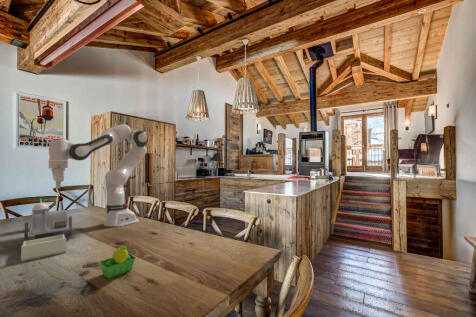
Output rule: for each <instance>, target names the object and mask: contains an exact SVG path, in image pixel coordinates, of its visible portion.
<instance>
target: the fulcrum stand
mask: <svg viewBox="0 0 476 317" xmlns="http://www.w3.org/2000/svg"><path fill="white" fill-rule="evenodd" d="M29 223H30V222H29V221H26V222H24V234H23V236H24V241H29ZM68 225H69V230H67V232H68V233H67V235H68V236H69V237H70V236H72V235H73V234H72V230H73V229H72V228H73V216H71V215H70V216H68ZM63 234H64V230H63V231H57V232H50V233H44V234H38V235H34V239H40V238H46V237H52V236H57V235H63ZM24 241H23V242H24Z"/></svg>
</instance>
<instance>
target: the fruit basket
mask: <svg viewBox="0 0 476 317" xmlns="http://www.w3.org/2000/svg"><path fill="white" fill-rule="evenodd" d="M135 260H136V257H135V256H134V255H132V254H131V253H129V251H128V249H127V247H126V246H125V245H121V246H119V247H118V248H117V249H116V250H115V251H114V252H113V253H112V257H111V258H110V257H109V258H107V259H105V260H100V261H99V262H98V263H99V265H100V267H101V272H102V274H103V275H104V277H106V278H107V279H111V278H113V277H116V276H118V275H122V274H124V273H126V272H130V271H132V269H133V266H134V263H135Z"/></svg>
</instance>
